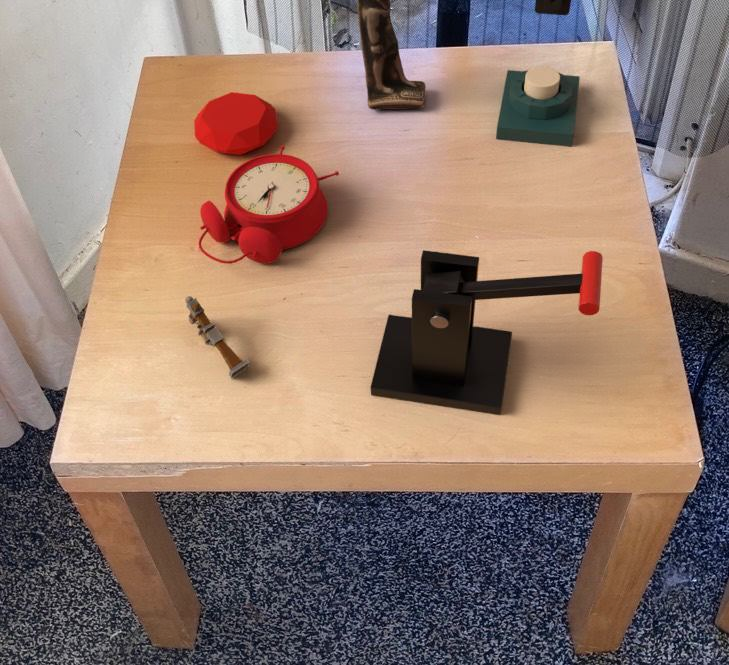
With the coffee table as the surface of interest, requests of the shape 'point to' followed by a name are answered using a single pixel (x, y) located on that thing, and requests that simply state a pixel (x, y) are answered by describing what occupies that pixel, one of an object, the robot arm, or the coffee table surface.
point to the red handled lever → (528, 285)
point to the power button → (541, 82)
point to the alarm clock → (268, 207)
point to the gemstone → (235, 123)
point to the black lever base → (443, 347)
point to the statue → (385, 60)
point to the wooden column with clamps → (214, 336)
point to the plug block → (538, 112)
